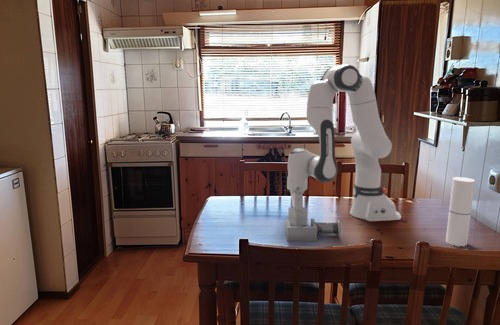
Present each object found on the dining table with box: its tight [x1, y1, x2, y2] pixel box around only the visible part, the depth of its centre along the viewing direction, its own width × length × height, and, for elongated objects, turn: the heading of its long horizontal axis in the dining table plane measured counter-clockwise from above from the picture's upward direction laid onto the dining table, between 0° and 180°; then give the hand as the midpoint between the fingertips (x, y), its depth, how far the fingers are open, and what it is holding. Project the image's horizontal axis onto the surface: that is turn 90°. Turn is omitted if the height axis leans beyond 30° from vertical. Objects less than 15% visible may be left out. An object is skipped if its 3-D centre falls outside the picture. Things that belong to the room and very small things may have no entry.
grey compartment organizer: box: [285, 217, 342, 242], centre depth 146 cm, size 21×10×6 cm, turn 88°
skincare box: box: [287, 206, 308, 226], centre depth 158 cm, size 6×6×7 cm
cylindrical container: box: [445, 176, 476, 247], centre depth 138 cm, size 7×7×25 cm
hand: (296, 214), depth 165 cm, fingers closed
